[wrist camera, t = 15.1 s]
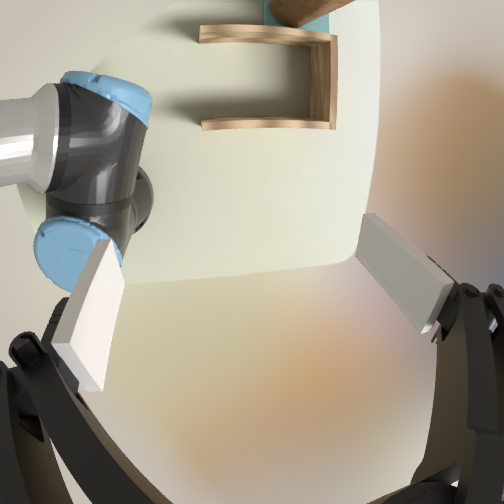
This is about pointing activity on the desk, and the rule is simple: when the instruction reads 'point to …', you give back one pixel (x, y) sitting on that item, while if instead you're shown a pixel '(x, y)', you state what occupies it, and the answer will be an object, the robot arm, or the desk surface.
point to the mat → (316, 25)
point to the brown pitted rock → (303, 10)
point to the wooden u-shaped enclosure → (321, 73)
